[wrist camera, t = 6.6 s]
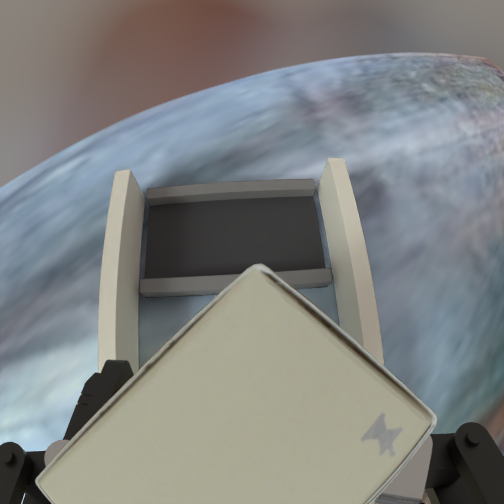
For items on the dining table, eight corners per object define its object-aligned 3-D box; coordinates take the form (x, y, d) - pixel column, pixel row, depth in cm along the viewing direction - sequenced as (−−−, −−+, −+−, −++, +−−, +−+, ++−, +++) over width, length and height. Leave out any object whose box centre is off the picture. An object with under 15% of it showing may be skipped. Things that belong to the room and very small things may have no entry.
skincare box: (249, 331, 16) (269, 234, 5) (308, 384, 15) (456, 403, 4) (166, 412, 14) (19, 479, 3) (225, 465, 13) (199, 623, 2)
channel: (155, 569, 11) (142, 594, 7) (132, 199, 20) (115, 171, 17) (361, 555, 11) (378, 579, 8) (330, 188, 21) (343, 158, 18)
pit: (146, 297, 18) (139, 292, 17) (152, 197, 20) (147, 188, 19) (326, 286, 18) (331, 281, 17) (310, 188, 21) (313, 178, 20)
